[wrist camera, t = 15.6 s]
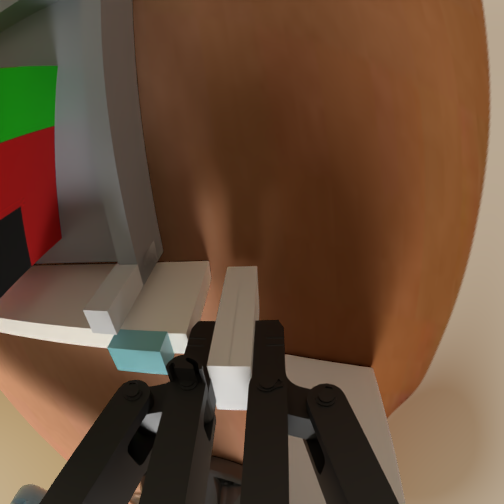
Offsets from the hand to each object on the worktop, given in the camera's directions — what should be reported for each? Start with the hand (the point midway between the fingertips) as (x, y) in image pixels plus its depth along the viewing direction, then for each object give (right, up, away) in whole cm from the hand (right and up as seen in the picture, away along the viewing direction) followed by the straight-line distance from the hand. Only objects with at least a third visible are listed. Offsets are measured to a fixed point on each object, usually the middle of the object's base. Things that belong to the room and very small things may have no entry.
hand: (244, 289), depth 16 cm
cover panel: (-11, +1, +2) cm, 11 cm away
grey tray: (-15, +9, -2) cm, 18 cm away
